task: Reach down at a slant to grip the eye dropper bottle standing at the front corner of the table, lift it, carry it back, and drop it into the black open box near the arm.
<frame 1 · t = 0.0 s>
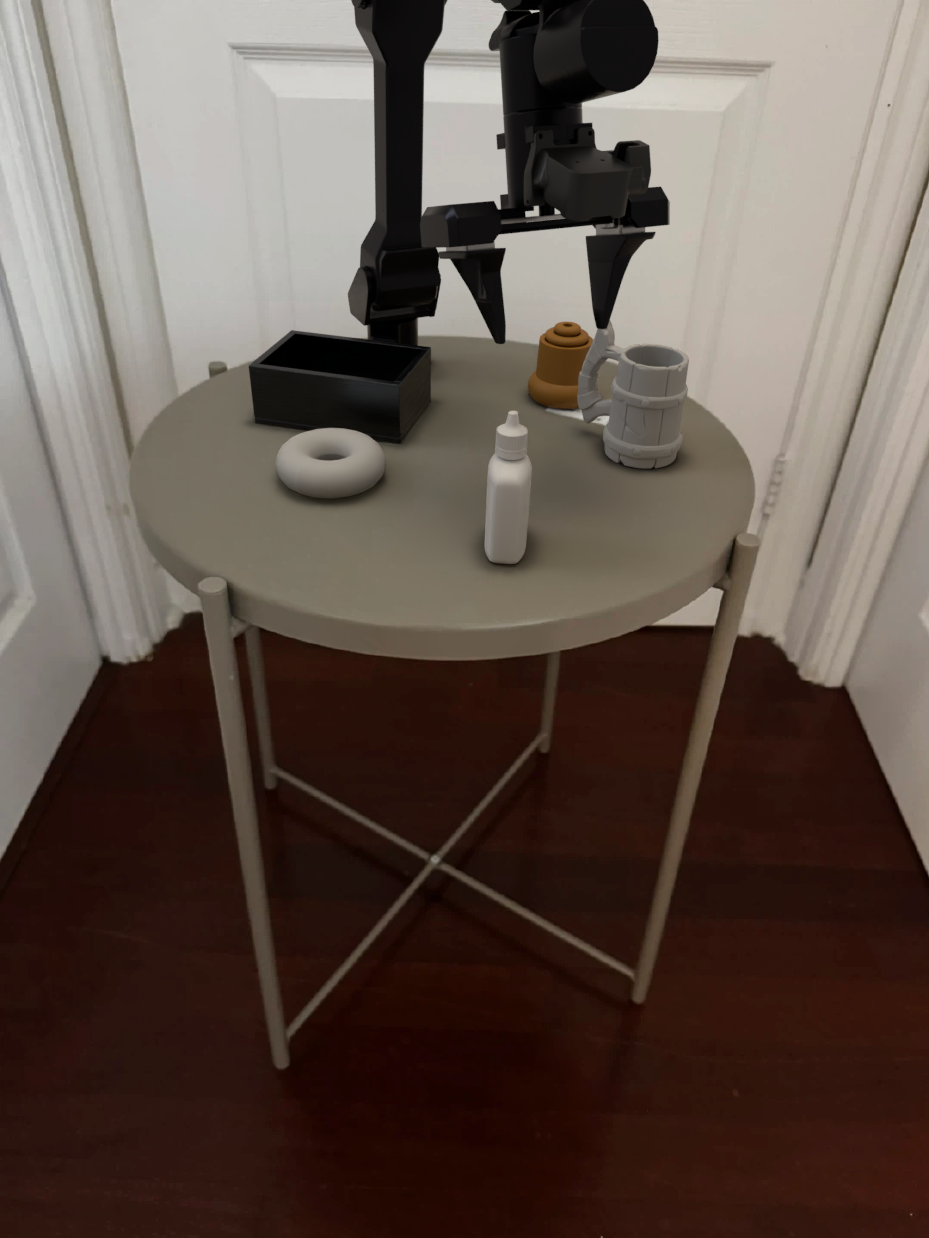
hand: (552, 336, 74), 15 cm above the table, tool pointing down, fingers open, 9 cm apart
donut: (332, 480, 87), on the table
eye dropper bottle: (504, 550, 78), on the table
black open box: (345, 412, 98), on the table
mug: (622, 448, 94), on the table
orange brown bell-shaped piece: (561, 399, 103), on the table
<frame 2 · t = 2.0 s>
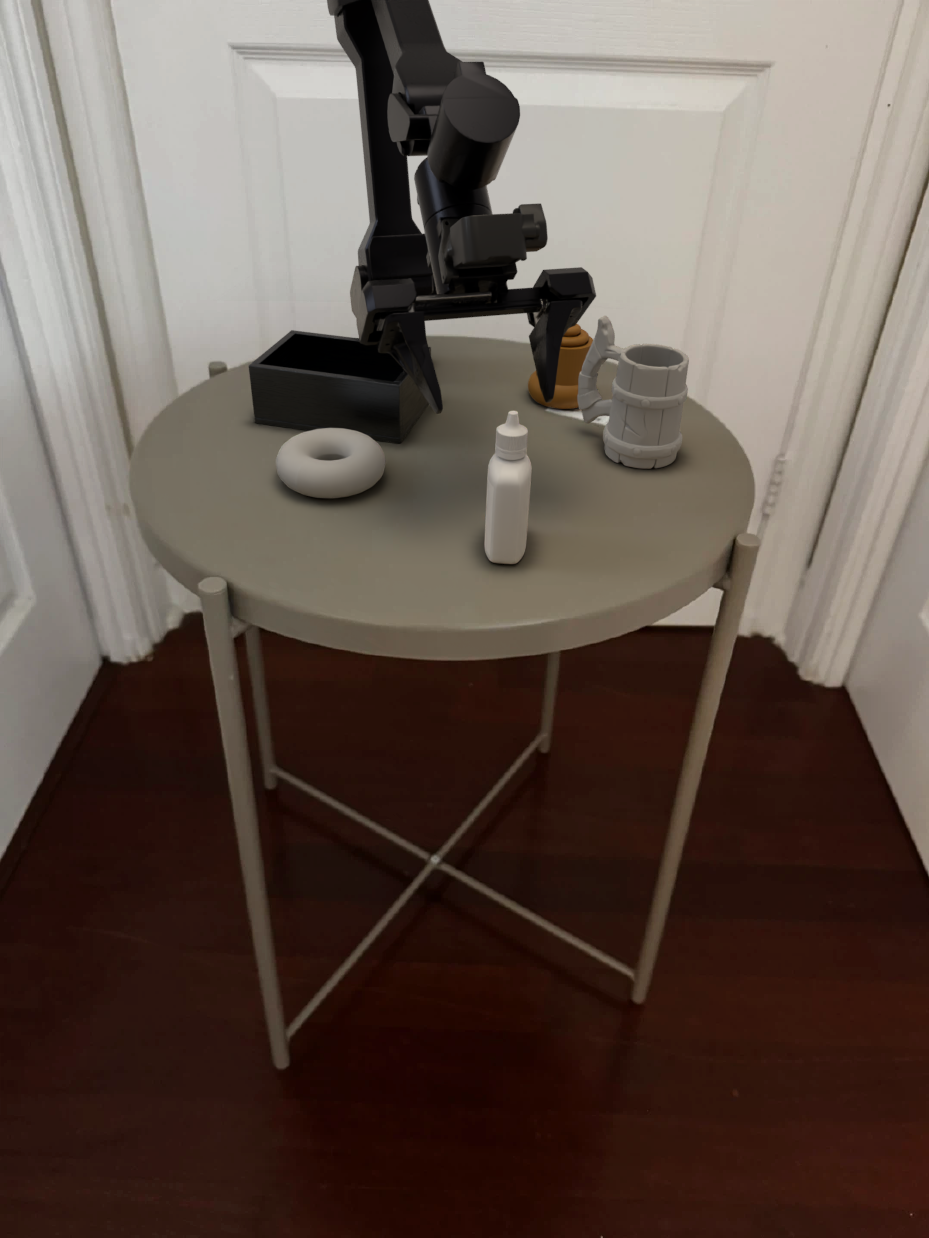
hand: (495, 406, 74), 11 cm above the table, tool tilted 45°, fingers open, 9 cm apart
nothing on the table moved.
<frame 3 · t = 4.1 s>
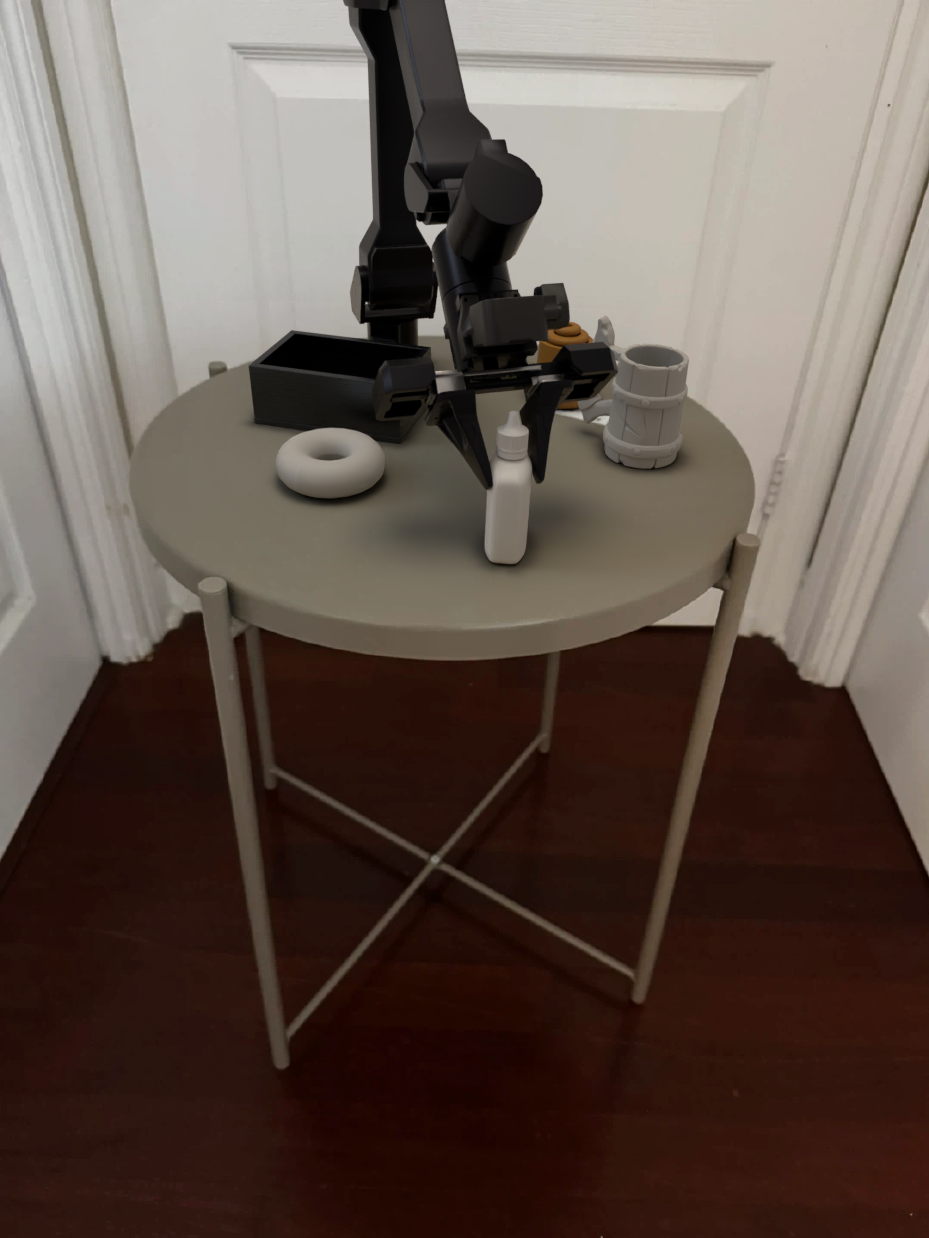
hand: (514, 485, 73), 7 cm above the table, tool tilted 45°, fingers closed on eye dropper bottle, 4 cm apart
eye dropper bottle: (504, 550, 78), on the table, touching gripper
everything else where it was.
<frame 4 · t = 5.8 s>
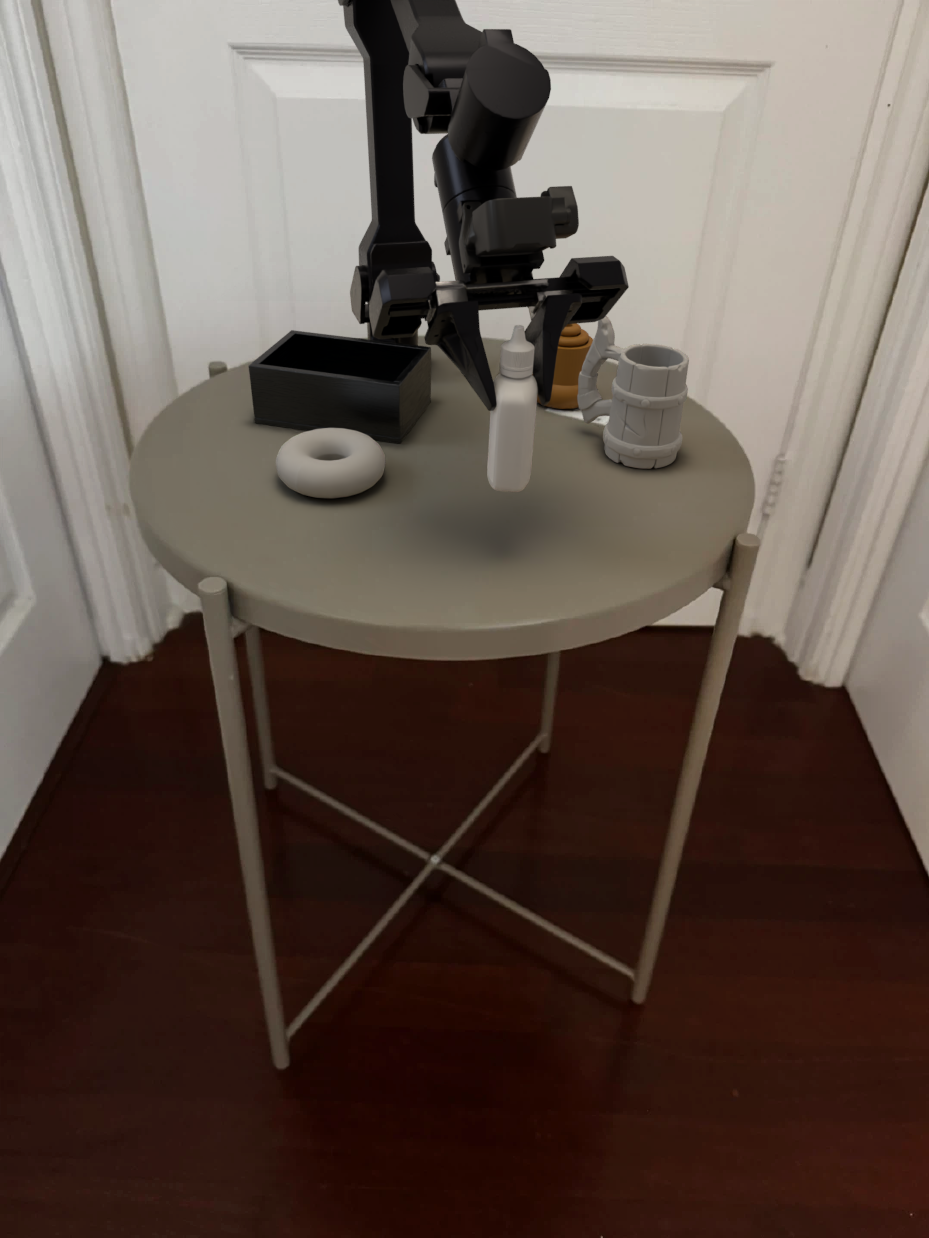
hand: (519, 406, 69), 13 cm above the table, tool tilted 45°, fingers closed on eye dropper bottle, 4 cm apart
eye dropper bottle: (508, 479, 74), point 6 cm above the table, touching gripper
everything else where it was.
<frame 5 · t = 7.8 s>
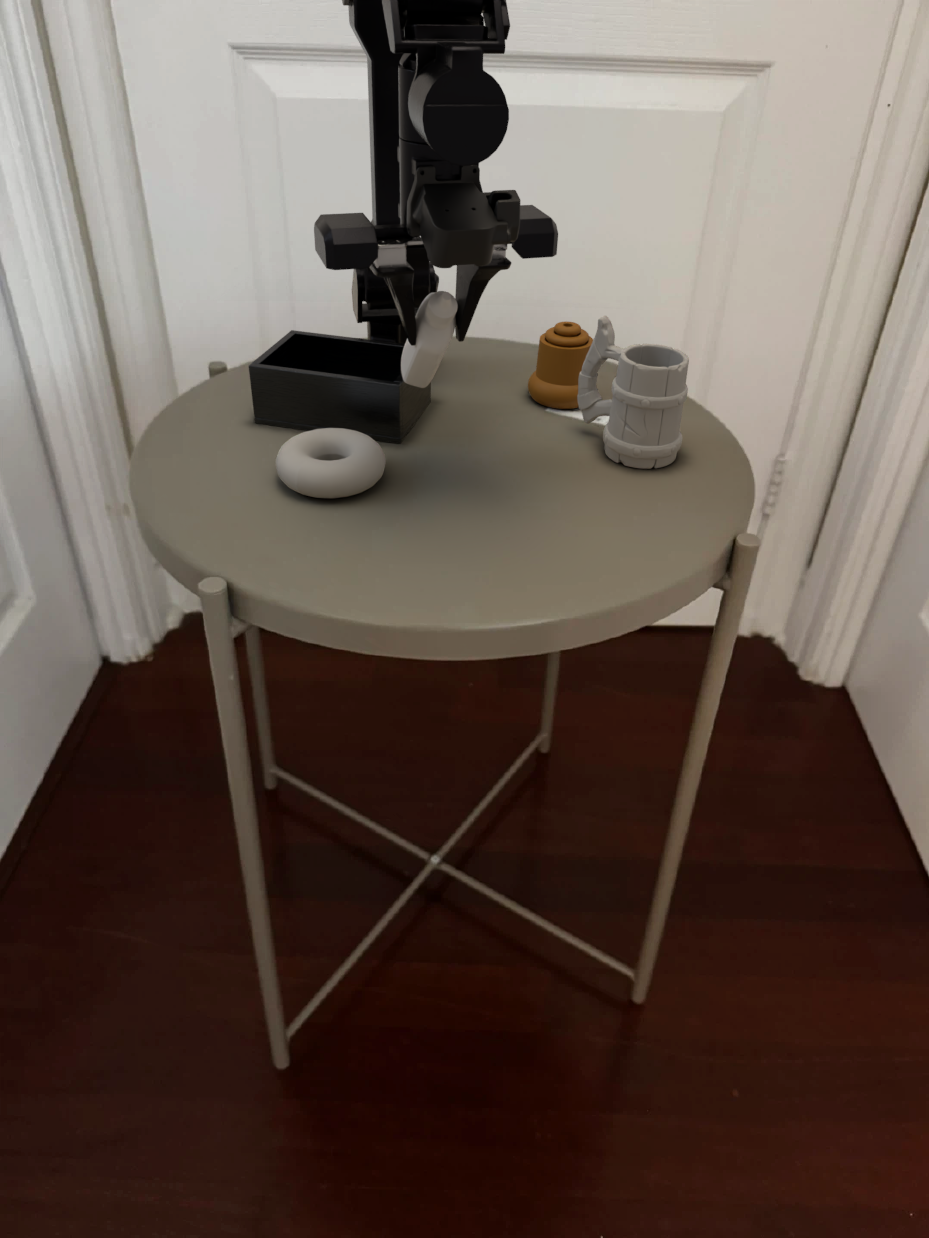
hand: (435, 342, 79), 13 cm above the table, tool pointing down, fingers closed on eye dropper bottle, 4 cm apart
eye dropper bottle: (419, 361, 86), point 9 cm above the table, touching gripper
everything else where it was.
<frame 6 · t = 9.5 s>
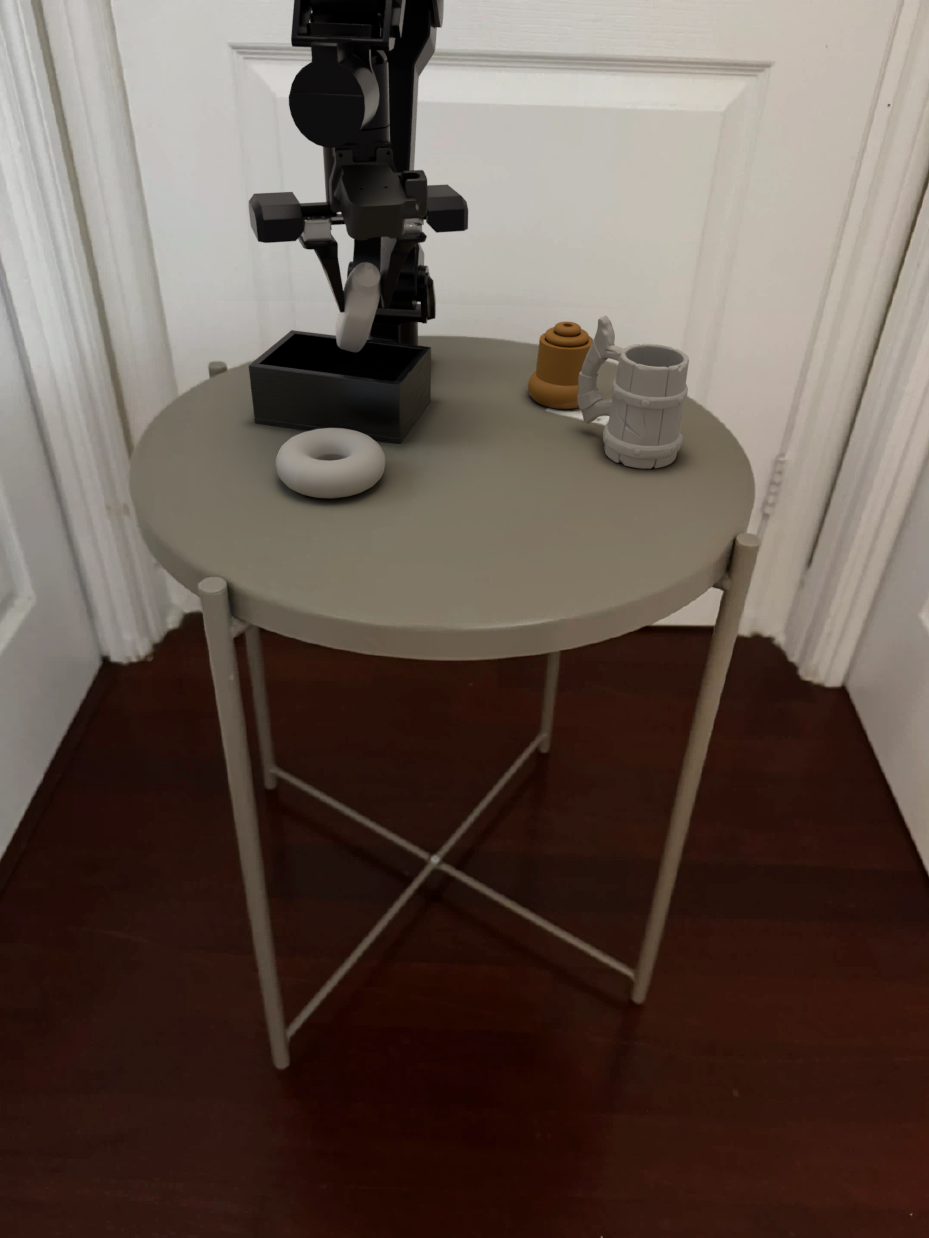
hand: (363, 309, 88), 12 cm above the table, tool pointing down, fingers closed on eye dropper bottle, 4 cm apart
eye dropper bottle: (352, 328, 95), point 8 cm above the table, touching gripper
everything else where it was.
when the fingers open (10 cm above the table, at t = 10.9 s): eye dropper bottle drops 4 cm, resting on black open box.
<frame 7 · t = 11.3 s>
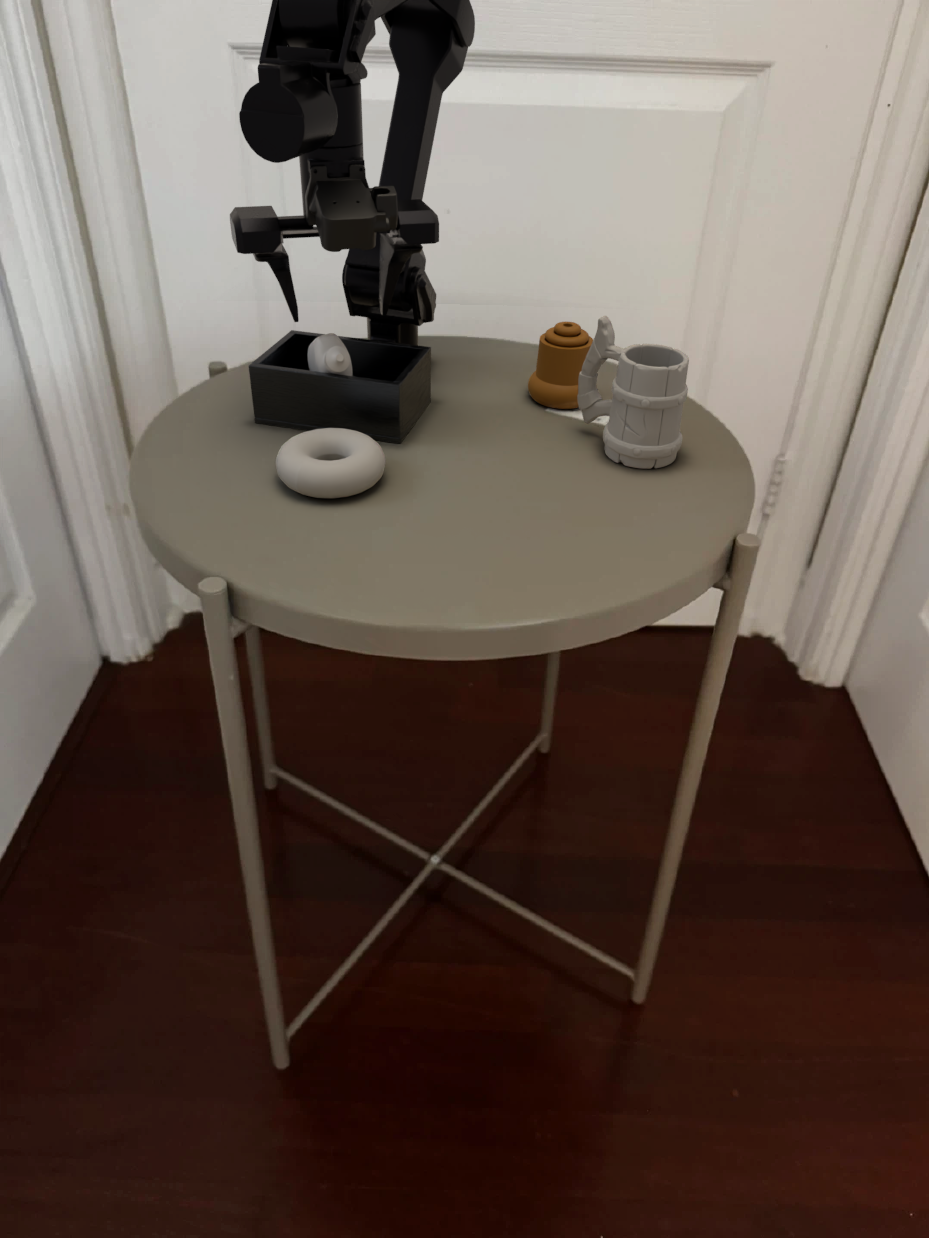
hand: (340, 317, 92), 10 cm above the table, tool pointing down, fingers open, 8 cm apart
eye dropper bottle: (325, 369, 100), point 3 cm above the table, touching black open box
everything else where it was.
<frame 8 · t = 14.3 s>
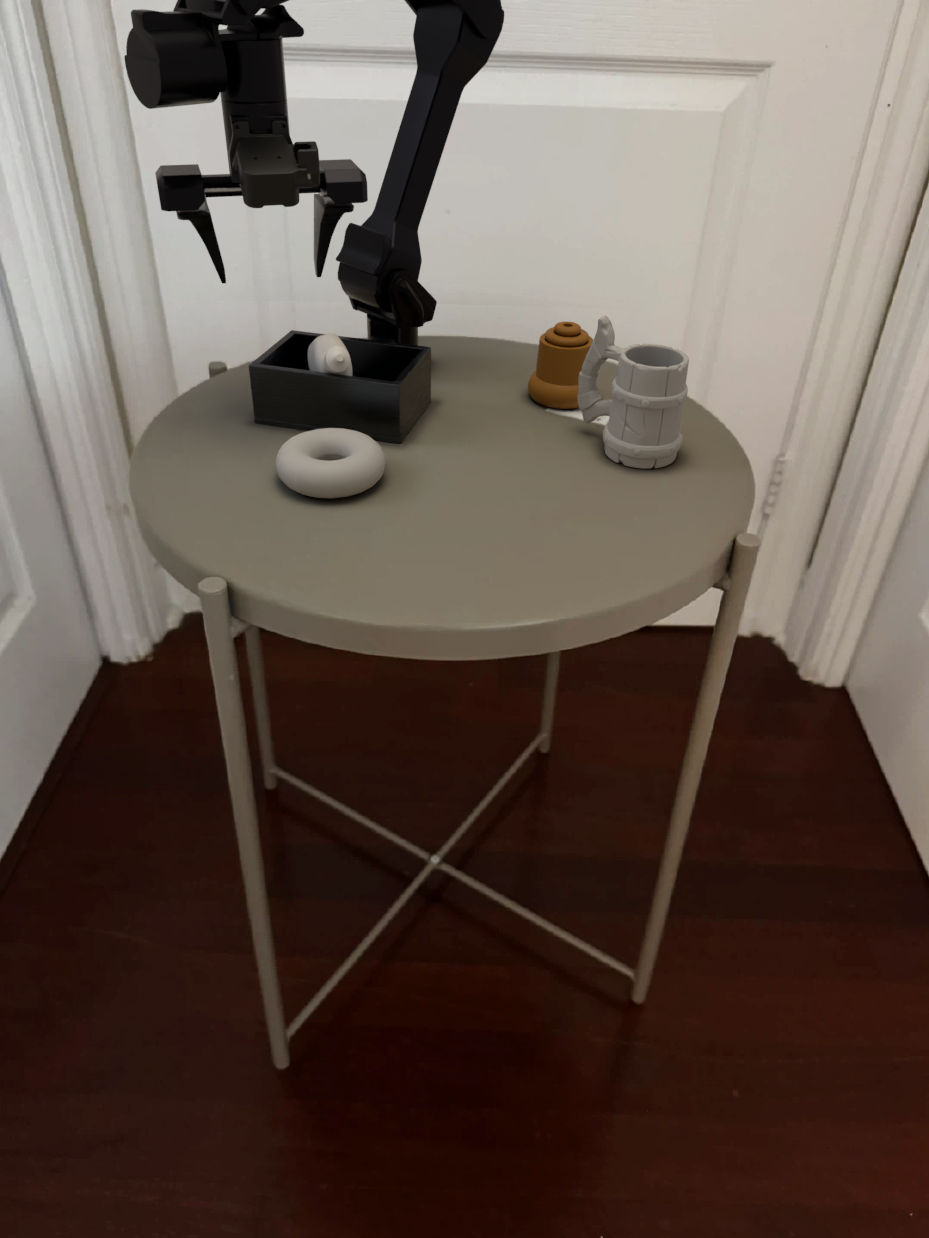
hand: (271, 279, 92), 13 cm above the table, tool pointing down, fingers open, 9 cm apart
nothing on the table moved.
at the end: eye dropper bottle inside the target area in the black open box (4.6 cm from its centre), point 3.1 cm above the black open box's base; the gripper is holding nothing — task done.
